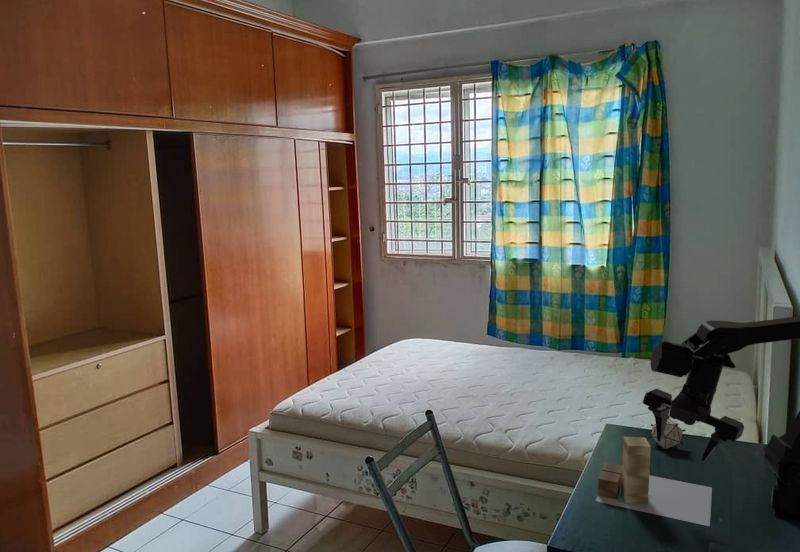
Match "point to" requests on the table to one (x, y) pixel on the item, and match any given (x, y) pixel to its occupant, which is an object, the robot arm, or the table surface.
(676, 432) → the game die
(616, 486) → the cube
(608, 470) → the cube
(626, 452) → the pillar
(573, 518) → the table surface
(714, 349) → the robot arm
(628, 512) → the table surface
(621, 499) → the board
